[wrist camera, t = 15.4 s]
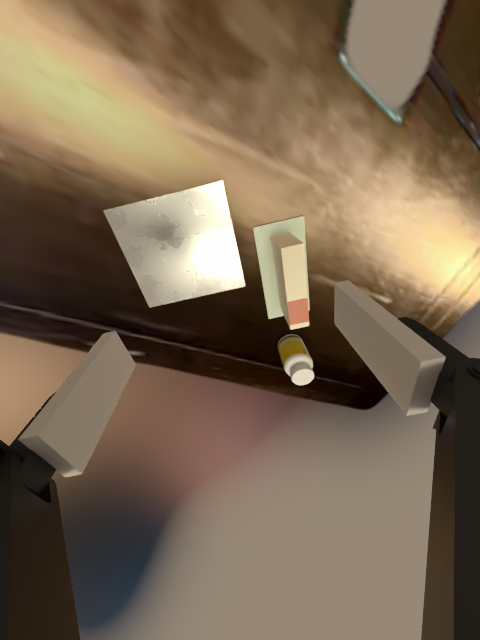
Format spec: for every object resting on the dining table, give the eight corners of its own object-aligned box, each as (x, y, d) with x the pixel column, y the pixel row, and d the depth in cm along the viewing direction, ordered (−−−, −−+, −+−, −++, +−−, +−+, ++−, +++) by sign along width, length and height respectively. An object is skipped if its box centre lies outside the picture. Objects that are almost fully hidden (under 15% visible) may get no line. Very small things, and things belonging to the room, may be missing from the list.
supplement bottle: (271, 343, 48) (281, 377, 40) (292, 328, 47) (307, 360, 38) (287, 357, 50) (299, 392, 42) (307, 343, 49) (324, 377, 40)
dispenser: (143, 201, 33) (103, 210, 22) (223, 181, 33) (222, 180, 22) (172, 275, 39) (151, 311, 28) (240, 259, 39) (246, 290, 28)
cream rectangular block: (270, 236, 36) (281, 248, 29) (288, 231, 36) (304, 243, 29) (280, 306, 43) (290, 330, 36) (295, 303, 43) (309, 326, 36)
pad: (252, 227, 36) (253, 227, 36) (303, 215, 36) (303, 215, 35) (268, 317, 45) (268, 318, 44) (308, 309, 44) (309, 310, 44)
